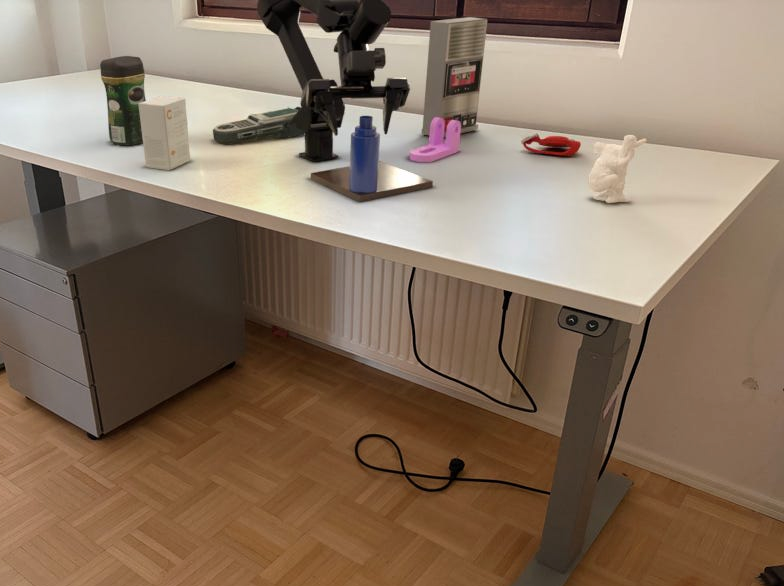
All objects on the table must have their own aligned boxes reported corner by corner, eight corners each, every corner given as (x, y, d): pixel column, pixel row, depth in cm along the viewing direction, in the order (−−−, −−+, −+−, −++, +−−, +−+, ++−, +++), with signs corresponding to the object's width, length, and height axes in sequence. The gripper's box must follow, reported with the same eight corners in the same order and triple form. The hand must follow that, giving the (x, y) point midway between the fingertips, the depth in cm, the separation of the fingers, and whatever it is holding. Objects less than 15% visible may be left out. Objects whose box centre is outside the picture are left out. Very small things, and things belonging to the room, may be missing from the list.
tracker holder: (556, 139, 170) (591, 137, 161) (553, 159, 171) (588, 158, 162) (517, 132, 164) (551, 130, 155) (514, 153, 165) (548, 151, 156)
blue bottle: (343, 187, 138) (345, 115, 132) (366, 183, 141) (369, 112, 134) (359, 195, 135) (362, 121, 128) (383, 190, 137) (386, 118, 130)
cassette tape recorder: (440, 139, 175) (450, 23, 162) (421, 134, 179) (429, 21, 166) (478, 130, 182) (491, 19, 170) (459, 126, 186) (470, 17, 174)
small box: (166, 157, 161) (160, 95, 155) (191, 161, 159) (186, 97, 153) (144, 167, 155) (137, 102, 148) (170, 170, 153) (164, 105, 146)
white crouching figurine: (638, 200, 135) (653, 133, 129) (623, 210, 131) (639, 140, 125) (592, 191, 140) (605, 126, 134) (577, 200, 135) (590, 133, 129)
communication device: (204, 137, 178) (201, 99, 173) (293, 125, 187) (292, 89, 183) (223, 148, 169) (220, 108, 164) (315, 135, 178) (315, 97, 173)
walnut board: (310, 179, 147) (310, 173, 147) (379, 166, 155) (380, 160, 154) (359, 202, 135) (359, 195, 134) (432, 187, 142) (432, 181, 142)
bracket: (437, 147, 168) (439, 115, 165) (458, 151, 165) (461, 119, 162) (404, 159, 160) (406, 126, 156) (426, 163, 157) (429, 130, 153)
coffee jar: (134, 134, 180) (125, 52, 170) (157, 139, 175) (149, 55, 166) (103, 143, 173) (91, 57, 163) (127, 148, 169) (116, 61, 159)
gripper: (307, 31, 131) (314, 109, 127) (411, 30, 133) (421, 107, 129) (303, 71, 142) (309, 144, 138) (399, 69, 144) (408, 141, 140)
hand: (361, 133), depth 136 cm, fingers open, 9 cm apart
